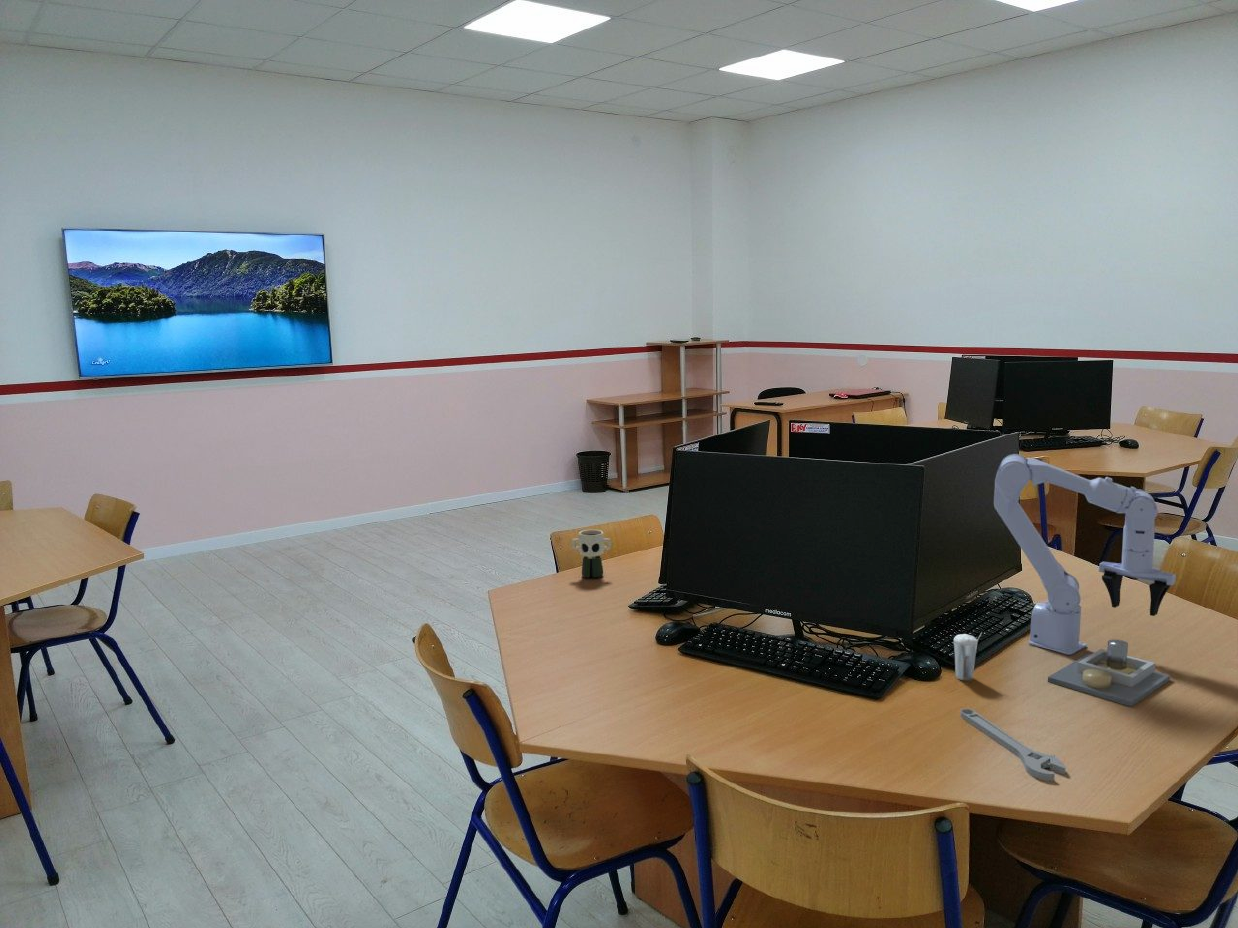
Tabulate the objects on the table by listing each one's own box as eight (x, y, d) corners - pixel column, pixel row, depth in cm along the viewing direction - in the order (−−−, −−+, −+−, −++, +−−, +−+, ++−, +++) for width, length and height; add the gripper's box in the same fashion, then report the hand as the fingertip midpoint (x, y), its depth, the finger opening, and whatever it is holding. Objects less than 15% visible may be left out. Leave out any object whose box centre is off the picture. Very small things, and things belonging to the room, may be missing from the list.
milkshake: (982, 682, 187) (984, 636, 186) (954, 681, 188) (955, 634, 187) (978, 673, 192) (980, 628, 190) (950, 672, 193) (952, 626, 191)
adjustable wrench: (956, 717, 174) (956, 708, 174) (988, 713, 175) (988, 704, 175) (1038, 783, 150) (1039, 773, 149) (1074, 779, 151) (1075, 769, 151)
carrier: (1047, 681, 187) (1048, 667, 186) (1088, 657, 198) (1089, 644, 198) (1131, 706, 175) (1132, 691, 174) (1170, 679, 186) (1171, 665, 185)
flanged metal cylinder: (1090, 671, 189) (1092, 642, 188) (1106, 661, 193) (1107, 633, 192) (1126, 681, 183) (1128, 652, 182) (1141, 671, 188) (1143, 642, 187)
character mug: (572, 580, 264) (570, 535, 261) (575, 572, 271) (573, 529, 268) (610, 580, 263) (608, 535, 260) (612, 572, 270) (611, 529, 267)
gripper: (1183, 551, 192) (1179, 613, 194) (1110, 539, 203) (1107, 598, 205) (1169, 558, 188) (1165, 622, 190) (1095, 545, 199) (1092, 606, 201)
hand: (1134, 610), depth 197 cm, fingers open, 7 cm apart
